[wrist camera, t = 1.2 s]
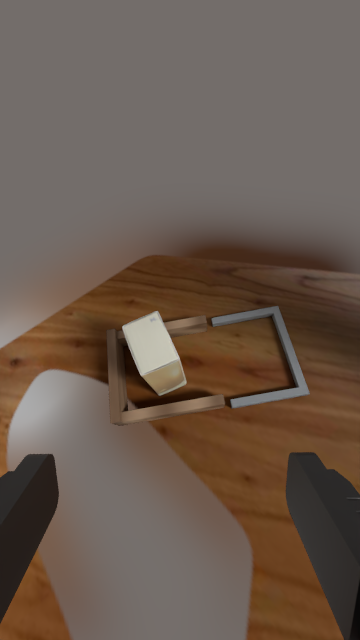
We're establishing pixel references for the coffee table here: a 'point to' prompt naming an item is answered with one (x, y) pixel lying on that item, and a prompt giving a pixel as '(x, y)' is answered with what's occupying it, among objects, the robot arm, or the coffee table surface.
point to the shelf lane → (118, 379)
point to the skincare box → (154, 353)
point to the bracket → (288, 350)
